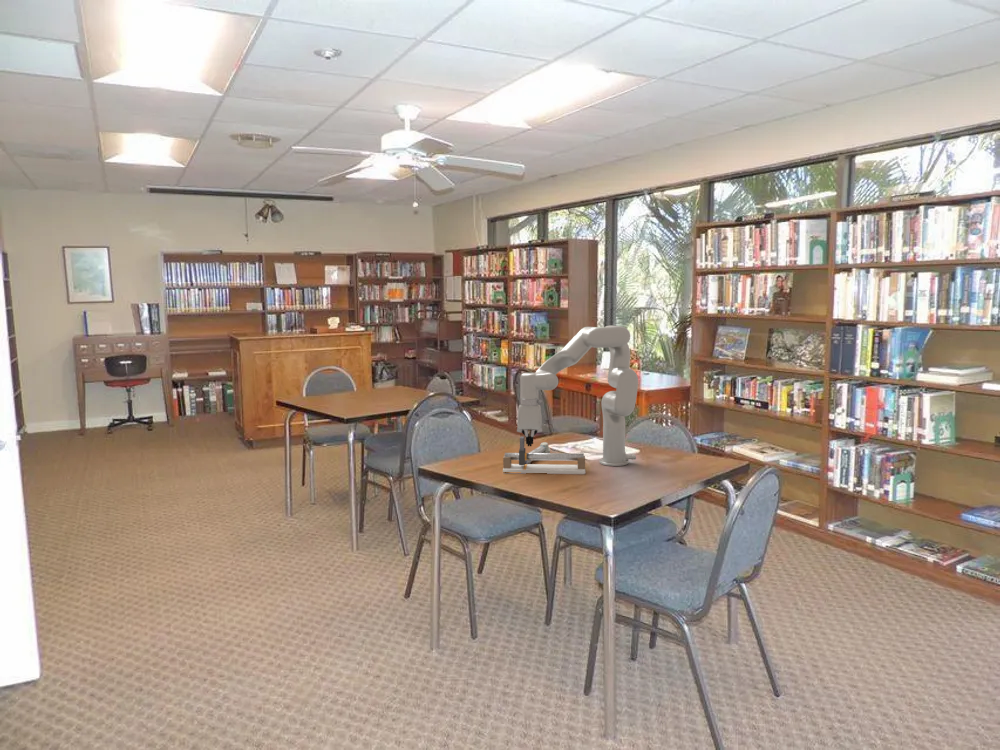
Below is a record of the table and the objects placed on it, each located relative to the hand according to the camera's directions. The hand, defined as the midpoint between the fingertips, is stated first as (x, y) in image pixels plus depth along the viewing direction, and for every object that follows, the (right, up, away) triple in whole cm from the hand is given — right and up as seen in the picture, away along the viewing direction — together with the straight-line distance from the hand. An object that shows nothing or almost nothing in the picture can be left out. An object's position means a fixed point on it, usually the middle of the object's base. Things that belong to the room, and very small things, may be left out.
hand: (529, 445), depth 294 cm
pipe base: (+6, -11, +1) cm, 12 cm away
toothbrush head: (+3, -9, +21) cm, 23 cm away
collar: (-3, -8, +1) cm, 8 cm away
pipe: (+6, -6, 0) cm, 9 cm away
